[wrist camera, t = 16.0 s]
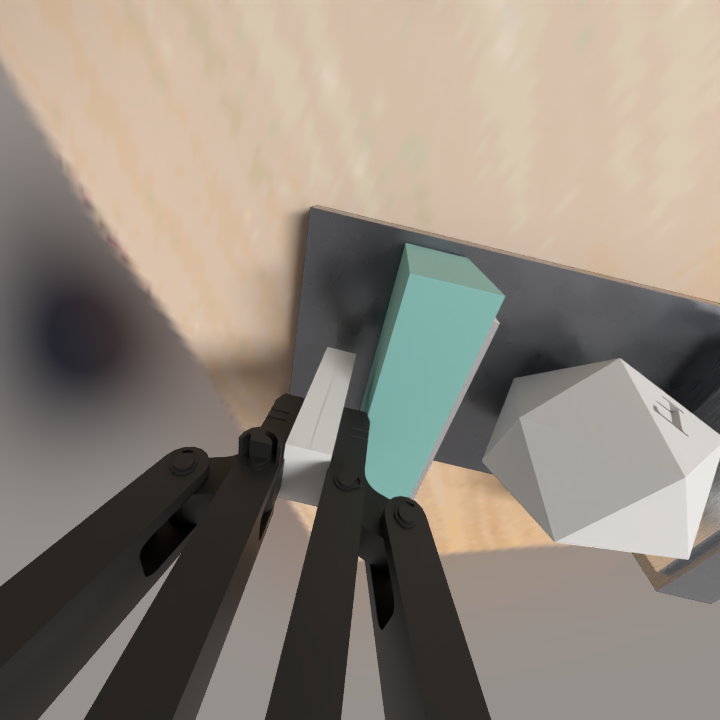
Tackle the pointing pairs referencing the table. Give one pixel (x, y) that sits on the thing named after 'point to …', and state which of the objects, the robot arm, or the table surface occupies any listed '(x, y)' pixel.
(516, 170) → the table surface
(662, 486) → the die
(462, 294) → the bar
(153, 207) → the table surface
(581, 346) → the vise base
